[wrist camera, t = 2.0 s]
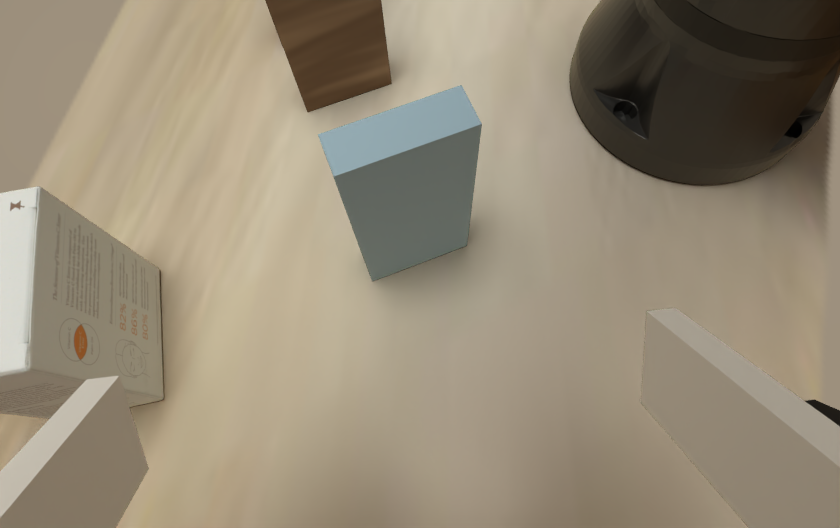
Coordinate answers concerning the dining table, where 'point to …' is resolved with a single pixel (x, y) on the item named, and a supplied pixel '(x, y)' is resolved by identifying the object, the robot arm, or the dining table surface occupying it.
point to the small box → (71, 308)
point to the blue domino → (408, 179)
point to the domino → (333, 47)
